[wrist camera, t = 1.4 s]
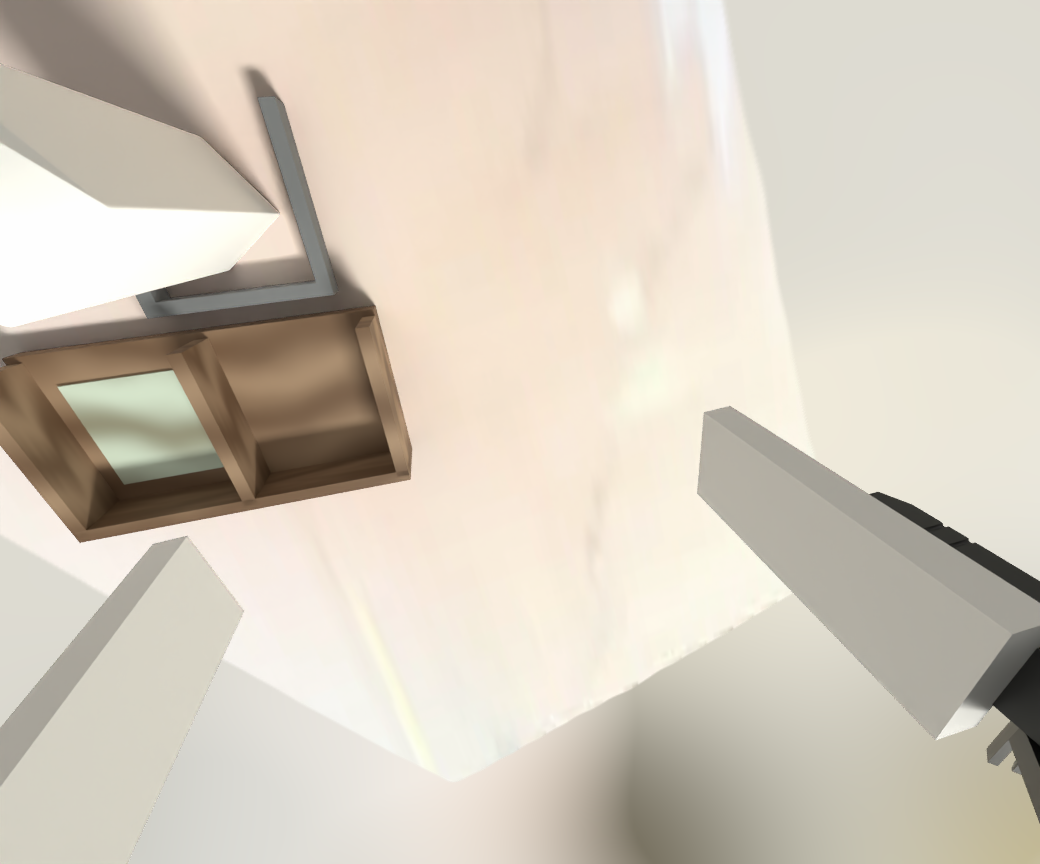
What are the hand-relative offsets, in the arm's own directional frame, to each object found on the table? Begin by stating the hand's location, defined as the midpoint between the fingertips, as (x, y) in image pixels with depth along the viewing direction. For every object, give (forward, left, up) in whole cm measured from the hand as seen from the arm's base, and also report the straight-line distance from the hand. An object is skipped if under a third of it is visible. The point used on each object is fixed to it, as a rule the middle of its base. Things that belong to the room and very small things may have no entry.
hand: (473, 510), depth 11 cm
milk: (-9, -14, -28) cm, 33 cm away
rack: (+6, -18, -28) cm, 34 cm away
